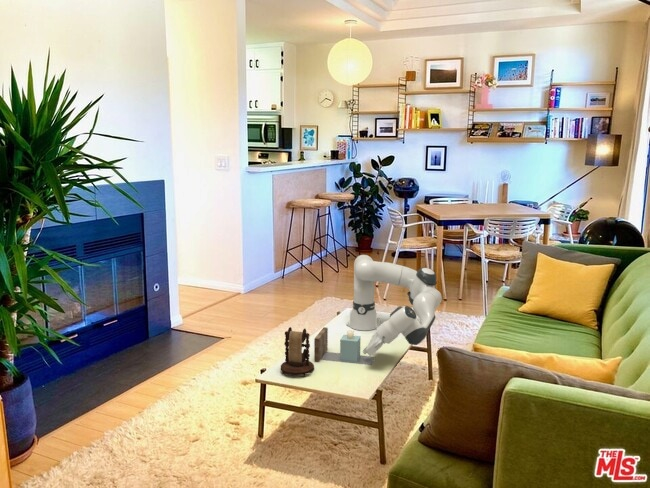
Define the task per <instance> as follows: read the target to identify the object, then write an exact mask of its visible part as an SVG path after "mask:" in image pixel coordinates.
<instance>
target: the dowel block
mask: <svg viewBox="0 0 650 488" xmlns="http://www.w3.org/2000/svg"><path fill="white" fill-rule="evenodd" d="M346 333H347V334H343V335H342V336H341V338H340V341H339V342H340V346H339V349H340V350H339V353H340V361H350V362H358V360H359V358H360V355H361V335H355V333H354V331H353V330H347V332H346Z"/></svg>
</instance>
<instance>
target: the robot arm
mask: <svg viewBox="0 0 650 488" xmlns="http://www.w3.org/2000/svg"><path fill="white" fill-rule="evenodd" d="M375 282H376V283H377V282H378V283H385V284H389V285H394V286H397V287H403V288H407V289H408V290H409V291H408V292H407V296H408V301H409V303H410V304H411V306H412V307H411V306H408V305H404V306H398V307H396V308H395V309H394V310H393V311H392V312H391V313H389V318H388V319H386V320H385V321H383V322H382V323H381V319H380V318H379V317H378V313H377V310H376V303H375ZM437 282H438V281H437V273H436V272H435V271H434V270H433V269H431V268H429V267H420V268H419V269H418V270H416V269H413V268H412V267H411V268H410V267H408V266H406V265H405V266H404V265H400V264H396V263H392V262H388V261H386V262H385V261H384V262H383V261H375V260H373V258H372V257H371V256H369V255H367V254H360V255H357V257H356V258H355V260H354V261H353V301H352V309H351V310H350V312H349V320H348V322H346V326H347V327H350V328H351V329H353V330H357V331H370V330H372V331H373V330H375V329H376V331H375V332H374V333H373V335H372V336H371V339H370V340H369V342H368V344H367V345H366V347H364V348H363V351H362V353H363V355H366V354H367V356H374V354H375V353H376V352H377V351H379V350H380V348H381V347H382V346H383V345H385V344H387V345H388V344H391V343H392V342H393V341H394V340H396V339H397V338H398V336H399V335H400V334H401V335H402V336H403V337H404V339H405V340H406V341H407V343H408V344H409V345H413V346H417V345H420V344H421V343H422V342H423V341H424V340H425V339H426V338H427V336H428V332H429V331H430V329H431V327H432V325H434V322H435V320H436V313H435V312H436V310H437V308H438V307H439V306H440V304H441V302H442V299H443V297H442V293H441V292H440V291H439V290H438V289H437V288H436V285H437V284H438V283H437ZM417 318H418V319H419V320H420V321H419V320H418V319H417Z"/></svg>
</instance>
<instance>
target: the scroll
mask: <svg viewBox="0 0 650 488" xmlns="http://www.w3.org/2000/svg"><path fill="white" fill-rule="evenodd" d="M310 336H311V335H310V333H308V332H307V329H306V328H303V329H302V331H296V330H292V327H288V330H285V331H284V337H285V338H284V346H285V348H284V349H285V351H284V354H285V355H284V356H285V358H284V359H285V360H284V362H282V363H281V364H280V371H281V373H282V374H284V375H285V374H286V375H289V376H290V375H291V376H303V377H304V378H305V377H306V376H307V375H308V374H310V373H312V372H313V371H314V370H315V365H314V363H313V362H312V361H310V347H311V344H310V340H309V339H310ZM303 348H304V349H303Z"/></svg>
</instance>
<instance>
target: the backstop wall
mask: <svg viewBox="0 0 650 488" xmlns="http://www.w3.org/2000/svg"><path fill="white" fill-rule="evenodd" d="M328 329H329V328H328V327H323V328H321V330H320V331H319V332H318V334H317V335H316V336H315V338H314V342H313V344H314V345H313V346H314V347H313V348H314V352H313V353H314V359H313V360H314V363H319V362H320V361H322V360H321V358H322V357H323V355H324V354H325V353H326V352H328V346H329V345H328V340H329V339H328V337H329V336H328V333H329V331H328Z"/></svg>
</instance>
